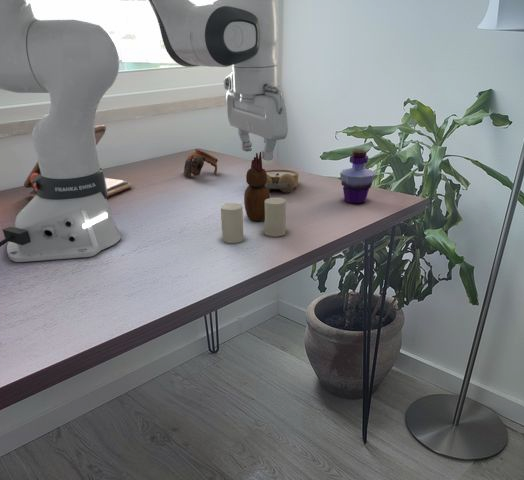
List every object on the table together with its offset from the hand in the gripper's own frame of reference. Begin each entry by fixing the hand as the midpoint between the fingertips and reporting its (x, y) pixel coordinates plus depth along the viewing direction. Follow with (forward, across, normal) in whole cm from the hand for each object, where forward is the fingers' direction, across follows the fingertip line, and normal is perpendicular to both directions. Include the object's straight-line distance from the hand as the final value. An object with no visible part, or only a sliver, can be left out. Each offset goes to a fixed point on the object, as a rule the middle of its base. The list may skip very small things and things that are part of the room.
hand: (256, 155), depth 108 cm
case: (+14, +44, +31) cm, 55 cm away
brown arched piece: (+14, +42, -3) cm, 45 cm away
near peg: (+14, -8, +10) cm, 19 cm away
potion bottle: (+14, 0, -27) cm, 31 cm away
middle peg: (+14, -10, +1) cm, 17 cm away
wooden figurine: (+14, 0, 0) cm, 14 cm away
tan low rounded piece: (+14, +19, -16) cm, 29 cm away
